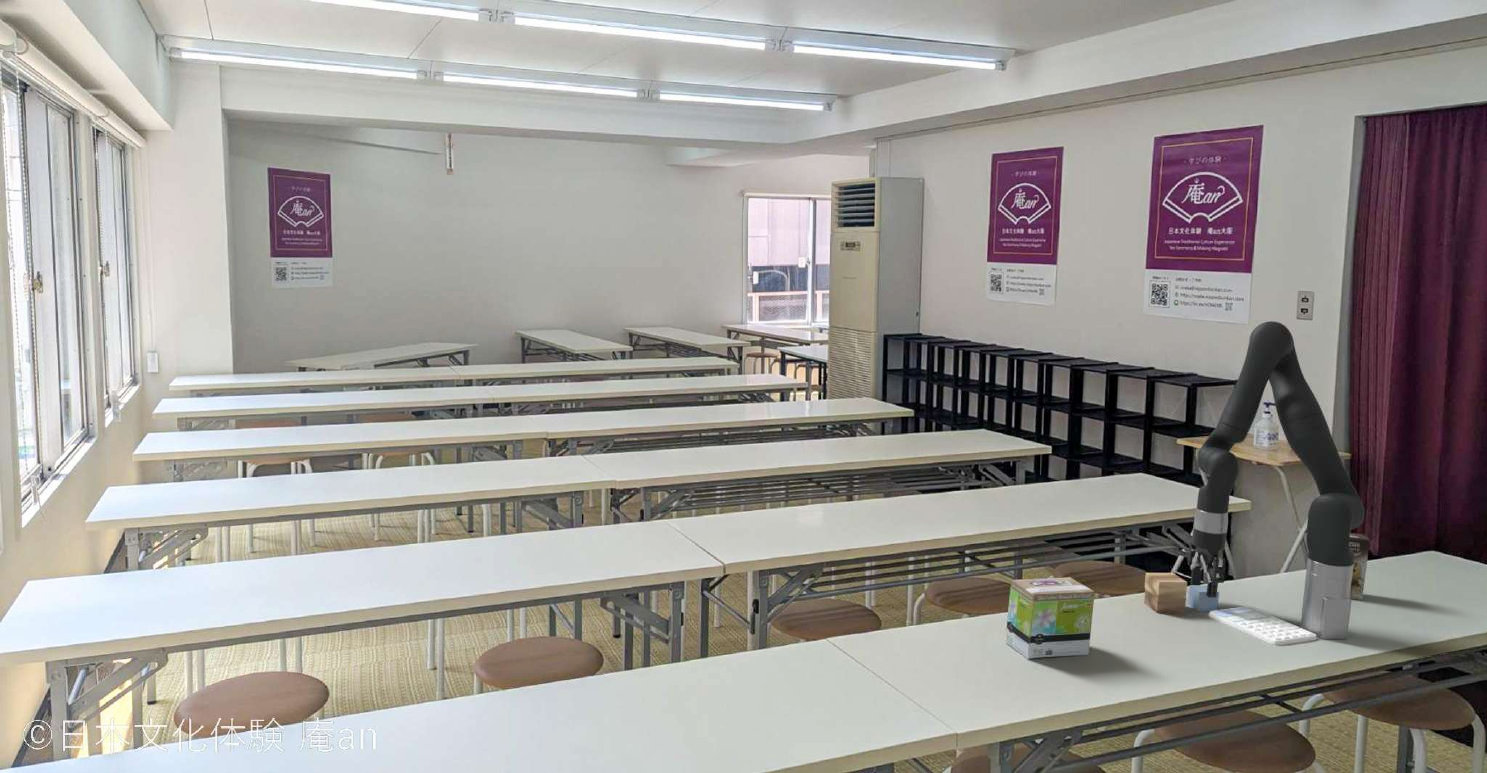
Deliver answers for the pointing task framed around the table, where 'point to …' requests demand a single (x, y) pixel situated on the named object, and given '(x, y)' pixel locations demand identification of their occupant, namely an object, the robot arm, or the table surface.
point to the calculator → (1262, 625)
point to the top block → (1165, 585)
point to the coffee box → (1358, 564)
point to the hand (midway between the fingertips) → (1203, 590)
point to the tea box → (1049, 617)
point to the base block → (1164, 603)
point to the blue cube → (1201, 598)
